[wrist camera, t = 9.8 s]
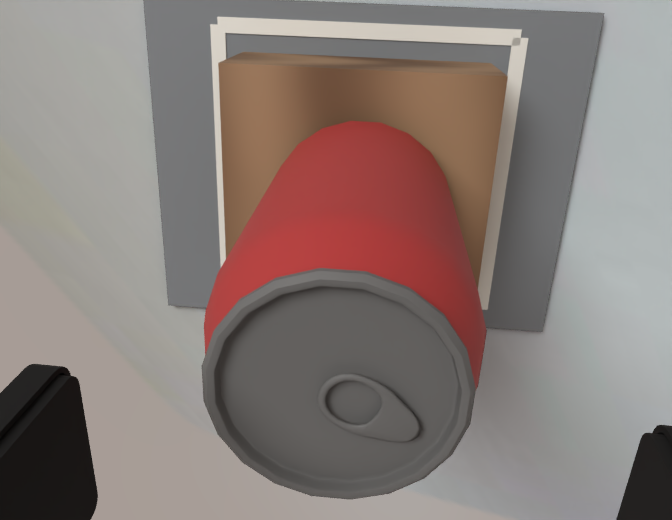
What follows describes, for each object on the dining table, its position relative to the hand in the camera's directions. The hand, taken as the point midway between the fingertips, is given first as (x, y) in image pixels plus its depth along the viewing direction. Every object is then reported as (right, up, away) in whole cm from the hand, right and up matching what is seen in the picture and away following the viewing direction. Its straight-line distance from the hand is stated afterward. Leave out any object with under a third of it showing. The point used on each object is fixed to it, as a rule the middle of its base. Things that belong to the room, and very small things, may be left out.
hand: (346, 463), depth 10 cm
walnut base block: (+1, +7, +17) cm, 18 cm away
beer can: (+1, +6, +13) cm, 14 cm away
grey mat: (+1, +7, +17) cm, 19 cm away
